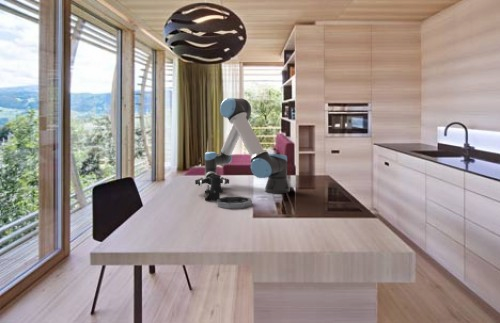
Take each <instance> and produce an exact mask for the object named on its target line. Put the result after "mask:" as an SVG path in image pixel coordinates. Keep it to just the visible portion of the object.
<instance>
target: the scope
mask: <svg viewBox="0 0 500 323" xmlns="http://www.w3.org/2000/svg"><path fill="white" fill-rule="evenodd" d="M221 177H222V176H221V175H220V174H217V175H211V178H212V179H211V185H209V184H206V189H205V190H204V196H203V197H204V201H216V202H217V199H219V198H221V196H220V194H221V193H223V192H224V189H223V188H222V186H221V185H222V183H221V179H220V178H221Z"/></svg>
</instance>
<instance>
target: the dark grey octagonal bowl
mask: <svg viewBox="0 0 500 323" xmlns="http://www.w3.org/2000/svg"><path fill="white" fill-rule="evenodd" d="M216 205H217V207H219V208H223V209H226V210H229V209H231V210H233V209H234V210H235V209H236V210H237V209H246V208H248V207H252V206H253V200H252V198H251V197H247V196H240V195H239V196H233V195H232V196H224V197H220V198H219V199H217V201H216Z"/></svg>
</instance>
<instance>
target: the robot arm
mask: <svg viewBox="0 0 500 323" xmlns="http://www.w3.org/2000/svg"><path fill="white" fill-rule="evenodd" d="M219 112H220V114H221V116H222V117H224V118H225V119H228V122H229V123H230V124H231V126H230V129H229V132H228V133H227V136H226V138H225V141H224V143H223V146H222V147H221V150H220V152H219V153H217V152H216V151H206V152H205V153H204V177H205V178H203V177H200V178H198V179H196V180H194V182H195V184H194V185H198V187H201V188H202V186H203V185H204V184H207V185H209V186H211V179H212V178H211V175H218V173H217V172H218V171H217V170H218V169H217V168H218V166H223V165H229V164H230V163H232V161H233V156H232V154H233V151H234V150H235V148H236V145H237V144H238V140H239V139H241V141H242V143H243V144H244V146H245V149H246V151H247V152H248V154H249V155H250V160H249V161H250V171H251V173H252V175H253V176H254V177H256V178H259V179H266V178H267V181H266V185H265V188H264V190H265V192H266V193H268V194H287V193H290V191H291V190H290V189H291V187H290V185H289V182H288V156H287V155H286V154H277V153H275V154H274V153H269V152H268V150H264V148H263V147H262V144H261V143H260V140H259V139H258V136H257V135H256V133H255V132H254V130H253V127H252V126H251V124H250V122H249V119H250V117H251V115H252V106H251V103H250V102H249V101H248V100H247V99H245V98H233V97H228V98H225V99H223V100H222V102H221V103H220V107H219ZM220 179H221V184H223V186H224V187H226V185H227V184H230V179H229V178H225V177H222V176H221V177H220Z"/></svg>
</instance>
